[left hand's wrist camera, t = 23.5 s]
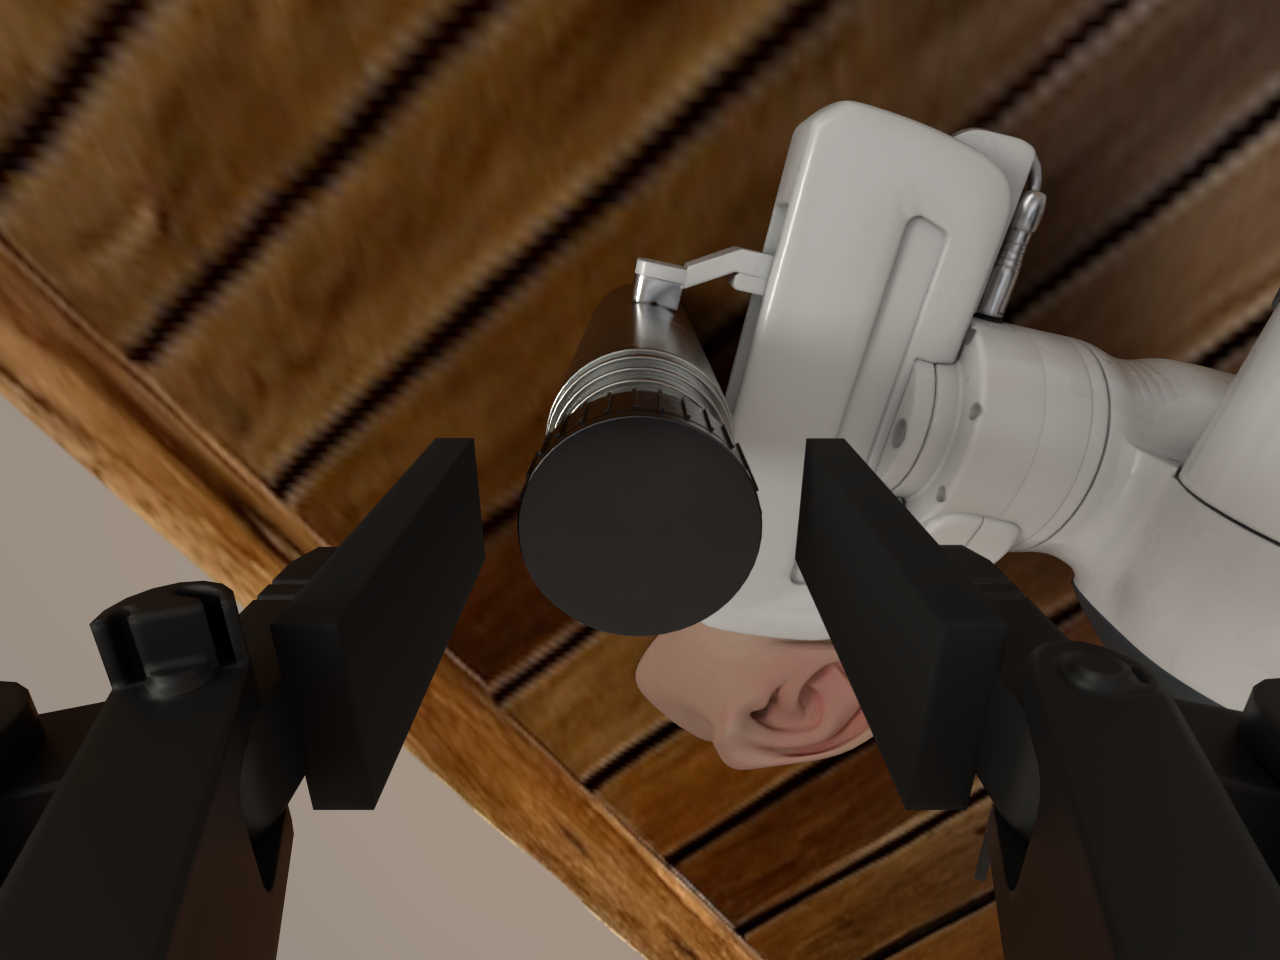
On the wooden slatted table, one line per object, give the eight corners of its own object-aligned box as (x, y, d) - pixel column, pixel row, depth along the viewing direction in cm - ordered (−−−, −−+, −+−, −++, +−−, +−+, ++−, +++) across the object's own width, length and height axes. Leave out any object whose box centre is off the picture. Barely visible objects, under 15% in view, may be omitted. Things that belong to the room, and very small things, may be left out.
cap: (542, 368, 13) (528, 391, 12) (774, 408, 13) (793, 435, 12) (517, 574, 15) (502, 620, 13) (724, 605, 15) (735, 654, 13)
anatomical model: (614, 762, 36) (694, 588, 32) (616, 711, 40) (688, 549, 36) (836, 825, 38) (938, 667, 34) (818, 771, 42) (909, 623, 38)
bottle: (571, 307, 32) (470, 452, 13) (668, 265, 31) (712, 353, 12) (613, 400, 33) (578, 651, 14) (705, 362, 33) (796, 574, 14)
